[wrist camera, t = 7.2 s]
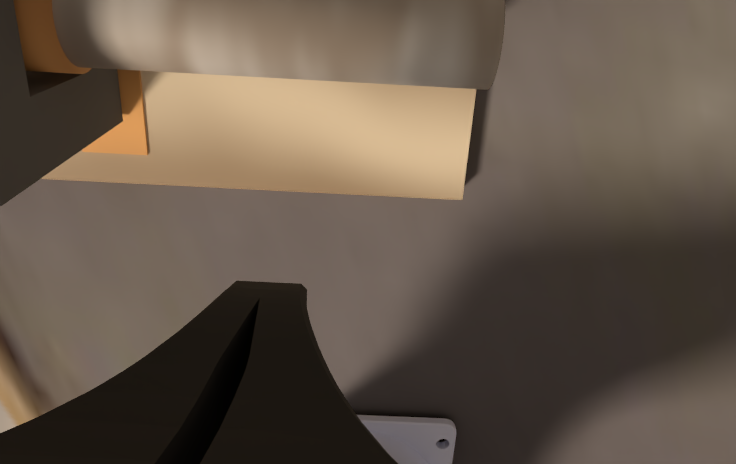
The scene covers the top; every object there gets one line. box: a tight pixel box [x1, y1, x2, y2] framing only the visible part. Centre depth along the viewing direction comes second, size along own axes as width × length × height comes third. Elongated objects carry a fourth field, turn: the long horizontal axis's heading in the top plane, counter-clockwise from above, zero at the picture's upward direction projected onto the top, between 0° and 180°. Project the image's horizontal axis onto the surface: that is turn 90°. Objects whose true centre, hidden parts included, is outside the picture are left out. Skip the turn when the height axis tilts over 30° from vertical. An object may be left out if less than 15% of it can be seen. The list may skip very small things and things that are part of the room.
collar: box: [0, 0, 123, 206], centre depth 14 cm, size 7×2×7 cm, turn 177°
